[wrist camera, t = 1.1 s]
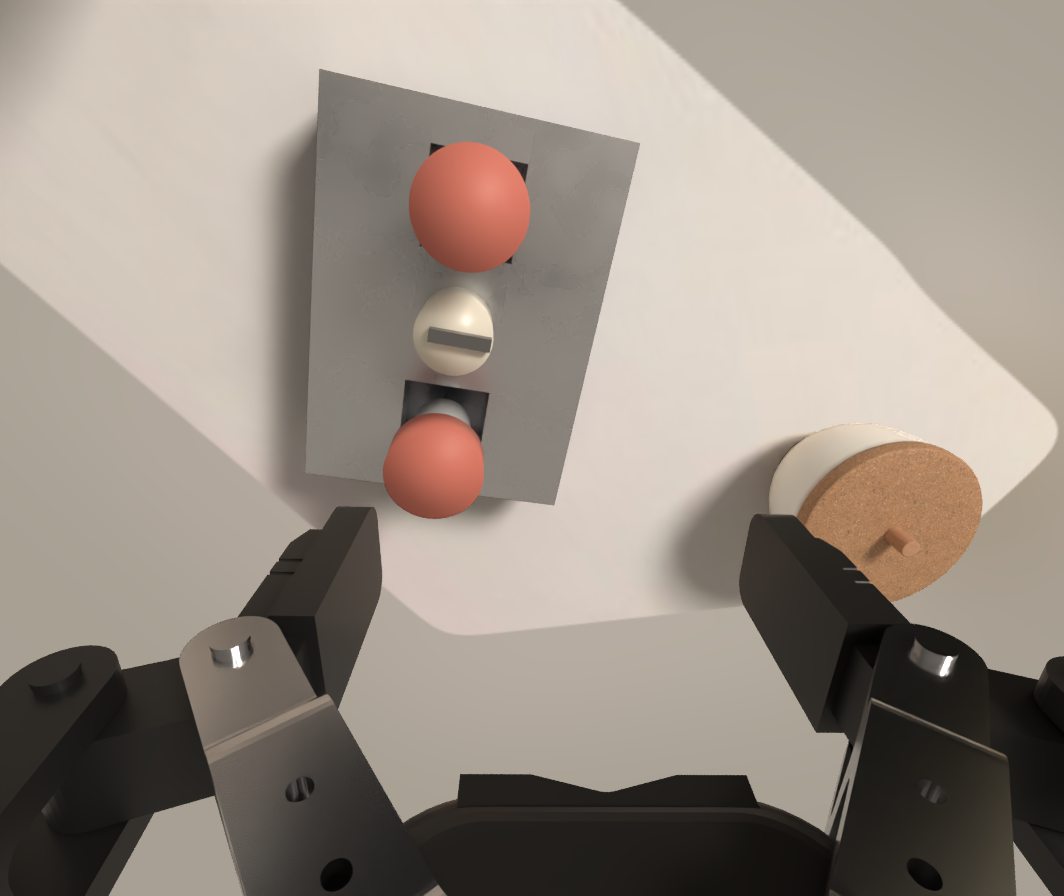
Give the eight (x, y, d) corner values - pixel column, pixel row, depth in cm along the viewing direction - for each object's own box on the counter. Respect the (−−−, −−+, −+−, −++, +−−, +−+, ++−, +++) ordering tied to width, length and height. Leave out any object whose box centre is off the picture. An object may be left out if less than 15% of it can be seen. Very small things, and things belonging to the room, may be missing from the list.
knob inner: (419, 246, 27) (402, 260, 21) (430, 142, 25) (415, 129, 19) (511, 264, 27) (518, 282, 22) (528, 164, 26) (540, 156, 20)
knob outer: (397, 455, 31) (378, 512, 25) (405, 379, 29) (387, 422, 24) (477, 466, 32) (475, 524, 26) (489, 392, 30) (491, 437, 24)
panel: (327, 437, 35) (304, 473, 31) (346, 88, 28) (319, 69, 23) (545, 467, 38) (554, 505, 33) (616, 150, 30) (640, 143, 26)
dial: (415, 352, 29) (407, 371, 25) (424, 280, 27) (416, 290, 24) (486, 364, 29) (486, 385, 26) (498, 294, 28) (500, 306, 25)
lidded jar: (786, 381, 36) (879, 439, 28) (924, 421, 38) (1049, 487, 30) (718, 520, 40) (781, 608, 32) (846, 550, 42) (937, 640, 34)
